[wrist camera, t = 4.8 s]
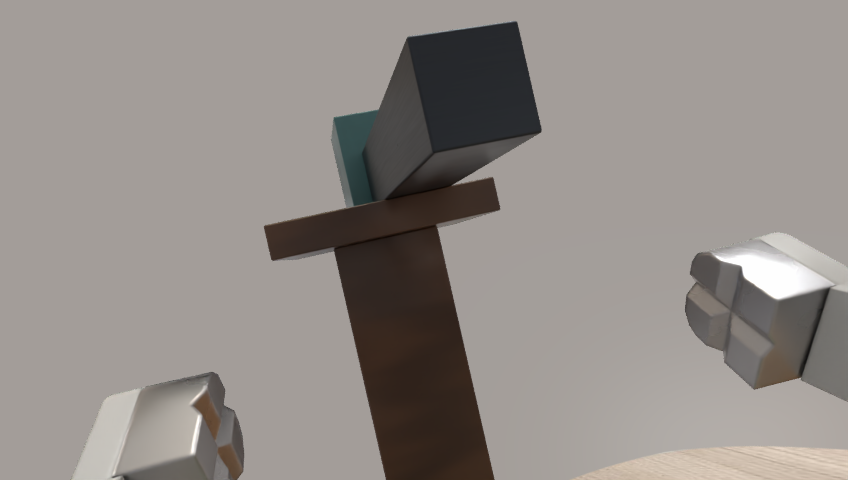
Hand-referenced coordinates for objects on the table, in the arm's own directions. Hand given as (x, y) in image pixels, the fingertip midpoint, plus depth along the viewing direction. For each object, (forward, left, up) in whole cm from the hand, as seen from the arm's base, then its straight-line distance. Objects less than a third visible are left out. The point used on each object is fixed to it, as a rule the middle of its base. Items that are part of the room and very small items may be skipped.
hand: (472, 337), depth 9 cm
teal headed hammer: (+2, +14, +4) cm, 14 cm away
